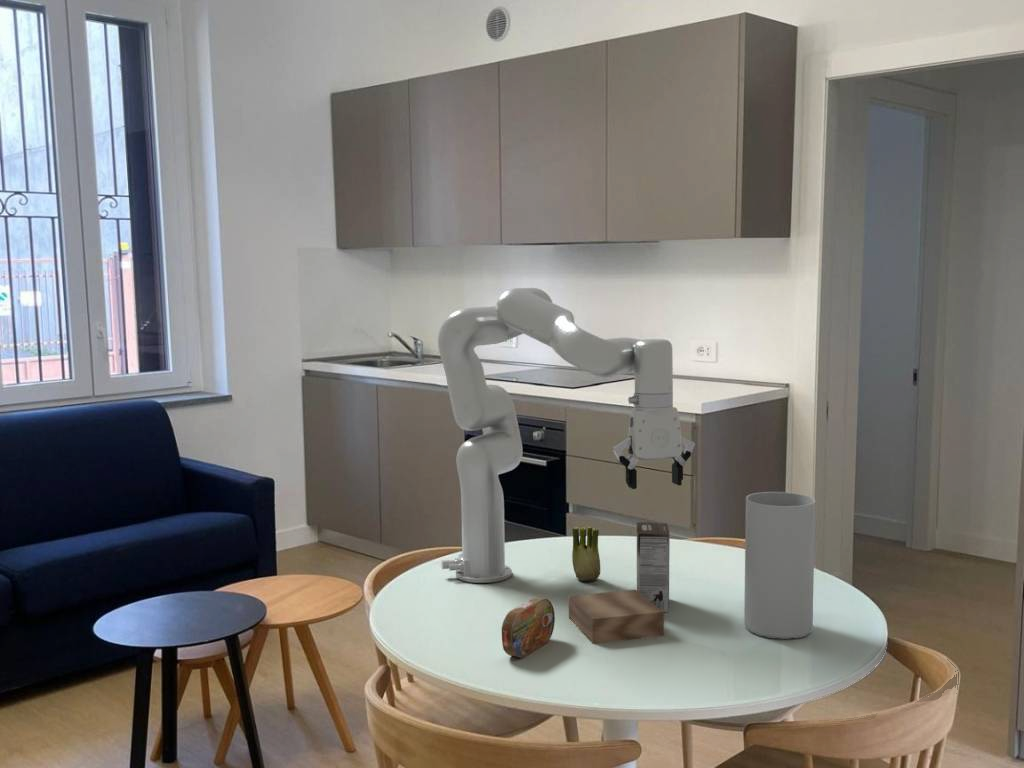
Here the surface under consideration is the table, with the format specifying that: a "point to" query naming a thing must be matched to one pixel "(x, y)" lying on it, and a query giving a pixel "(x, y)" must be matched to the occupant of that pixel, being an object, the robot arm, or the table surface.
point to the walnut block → (616, 616)
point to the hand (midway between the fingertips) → (654, 486)
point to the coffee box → (653, 563)
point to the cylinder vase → (779, 564)
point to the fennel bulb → (586, 554)
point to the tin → (528, 627)
